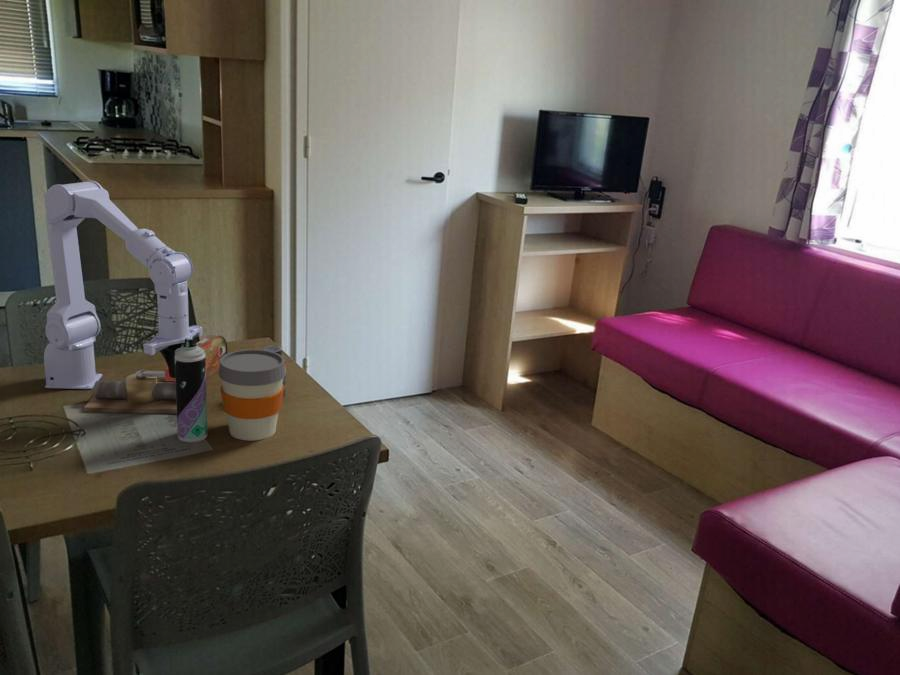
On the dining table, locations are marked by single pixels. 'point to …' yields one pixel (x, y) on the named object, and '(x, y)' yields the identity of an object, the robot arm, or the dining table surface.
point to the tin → (213, 352)
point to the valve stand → (133, 396)
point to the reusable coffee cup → (252, 392)
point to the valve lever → (154, 374)
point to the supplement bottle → (278, 351)
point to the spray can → (191, 392)
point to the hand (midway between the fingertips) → (175, 377)
